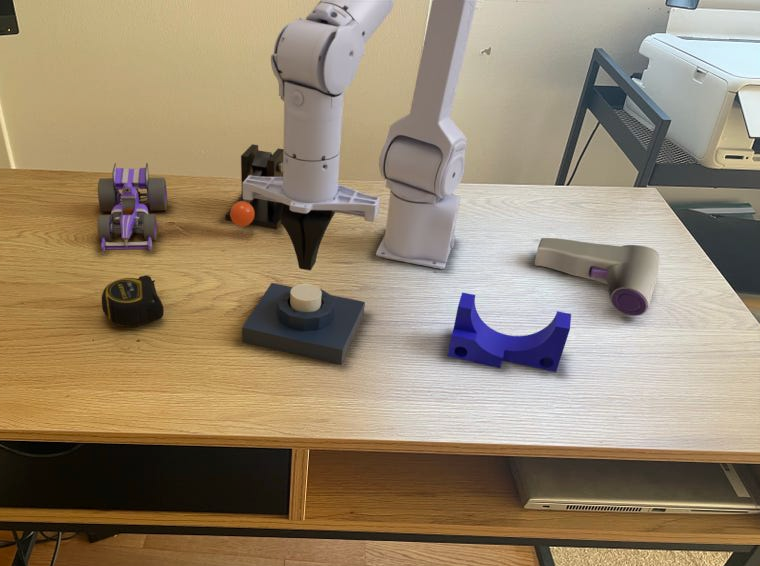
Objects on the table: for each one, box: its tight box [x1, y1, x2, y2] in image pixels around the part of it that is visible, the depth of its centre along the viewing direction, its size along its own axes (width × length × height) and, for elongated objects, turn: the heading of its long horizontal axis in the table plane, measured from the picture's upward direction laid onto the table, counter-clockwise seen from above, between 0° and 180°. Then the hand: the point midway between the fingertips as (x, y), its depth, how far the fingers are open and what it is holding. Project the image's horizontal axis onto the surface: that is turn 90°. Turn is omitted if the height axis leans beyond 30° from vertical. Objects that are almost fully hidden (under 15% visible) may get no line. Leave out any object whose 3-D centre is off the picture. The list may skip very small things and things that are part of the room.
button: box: [290, 282, 322, 312], centre depth 85 cm, size 4×4×2 cm
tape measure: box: [101, 275, 165, 328], centre depth 89 cm, size 7×7×4 cm
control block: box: [241, 282, 366, 366], centre depth 87 cm, size 12×10×4 cm
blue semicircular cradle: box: [447, 292, 572, 373], centre depth 83 cm, size 12×4×6 cm, turn 71°
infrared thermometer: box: [534, 237, 661, 317], centre depth 96 cm, size 5×12×15 cm
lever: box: [230, 149, 273, 227], centre depth 105 cm, size 12×3×3 cm, turn 161°
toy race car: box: [97, 162, 168, 252], centre depth 105 cm, size 10×15×6 cm, turn 4°
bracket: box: [224, 144, 284, 230], centre depth 108 cm, size 10×8×9 cm
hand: (307, 265), depth 83 cm, fingers closed
